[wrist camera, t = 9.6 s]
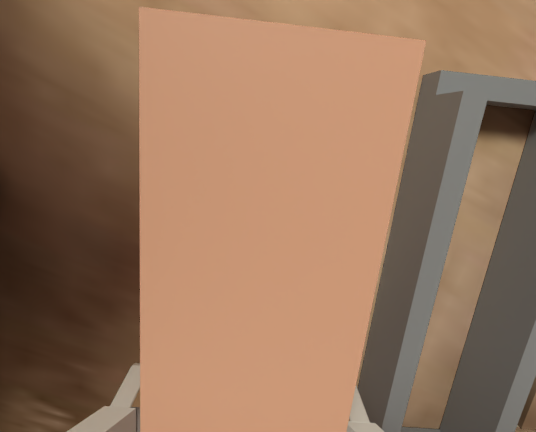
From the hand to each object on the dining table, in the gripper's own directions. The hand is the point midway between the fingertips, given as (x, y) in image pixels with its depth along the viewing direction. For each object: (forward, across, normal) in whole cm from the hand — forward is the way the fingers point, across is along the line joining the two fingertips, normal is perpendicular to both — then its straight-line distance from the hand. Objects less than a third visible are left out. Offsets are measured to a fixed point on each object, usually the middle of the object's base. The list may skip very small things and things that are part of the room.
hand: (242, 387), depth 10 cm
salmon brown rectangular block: (+8, 0, 0) cm, 8 cm away
